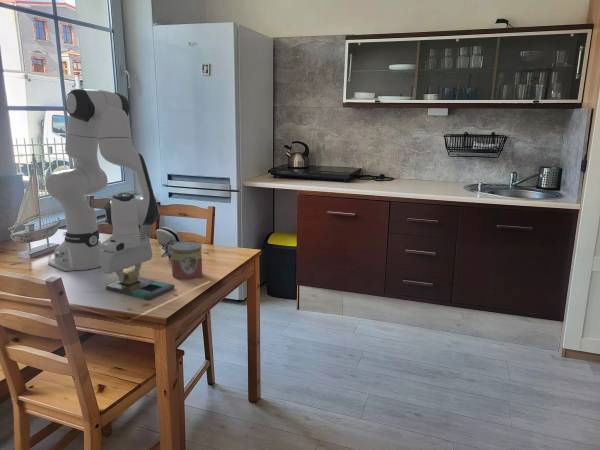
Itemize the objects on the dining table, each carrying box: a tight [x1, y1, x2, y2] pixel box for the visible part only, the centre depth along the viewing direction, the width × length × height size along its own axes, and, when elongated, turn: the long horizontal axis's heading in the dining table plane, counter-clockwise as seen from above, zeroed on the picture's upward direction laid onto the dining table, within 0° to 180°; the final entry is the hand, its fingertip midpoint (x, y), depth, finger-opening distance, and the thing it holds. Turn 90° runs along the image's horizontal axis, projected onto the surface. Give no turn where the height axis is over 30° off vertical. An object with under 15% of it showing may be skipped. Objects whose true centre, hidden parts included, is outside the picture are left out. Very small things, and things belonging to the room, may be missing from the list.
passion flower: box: [160, 237, 185, 263], centre depth 195 cm, size 11×11×12 cm
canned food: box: [171, 241, 203, 281], centre depth 175 cm, size 11×11×12 cm
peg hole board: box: [105, 276, 175, 302], centre depth 161 cm, size 20×12×2 cm, turn 63°
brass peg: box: [121, 267, 139, 286], centre depth 162 cm, size 4×4×6 cm
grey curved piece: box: [154, 226, 182, 246], centre depth 216 cm, size 17×5×10 cm, turn 48°
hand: (129, 278), depth 162 cm, fingers open, 5 cm apart
